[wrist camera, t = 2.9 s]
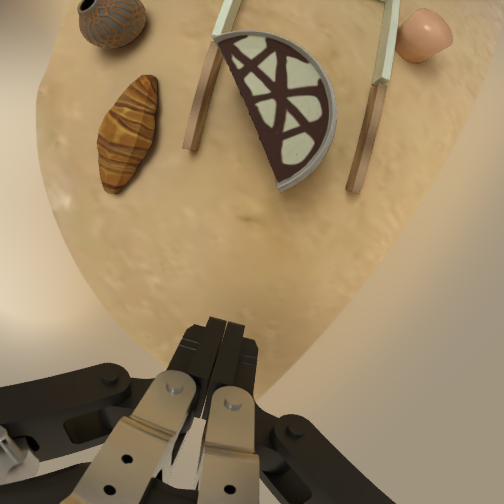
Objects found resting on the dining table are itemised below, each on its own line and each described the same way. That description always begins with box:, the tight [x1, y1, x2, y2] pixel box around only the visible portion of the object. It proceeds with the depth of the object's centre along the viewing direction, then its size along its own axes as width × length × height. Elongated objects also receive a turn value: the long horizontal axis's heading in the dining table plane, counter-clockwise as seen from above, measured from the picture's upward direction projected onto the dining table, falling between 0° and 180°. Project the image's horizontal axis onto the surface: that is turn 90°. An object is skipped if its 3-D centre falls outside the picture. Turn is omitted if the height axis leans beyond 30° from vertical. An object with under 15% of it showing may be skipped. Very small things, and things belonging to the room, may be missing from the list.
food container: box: [212, 30, 337, 193], centre depth 20 cm, size 12×6×10 cm, turn 22°
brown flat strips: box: [182, 41, 387, 194], centre depth 23 cm, size 11×17×2 cm, turn 76°
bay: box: [212, 0, 400, 85], centre depth 19 cm, size 13×17×3 cm
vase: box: [77, 0, 146, 48], centre depth 18 cm, size 7×7×9 cm
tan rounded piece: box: [395, 9, 453, 63], centre depth 17 cm, size 4×4×6 cm
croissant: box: [97, 75, 158, 194], centre depth 24 cm, size 14×7×5 cm, turn 158°
